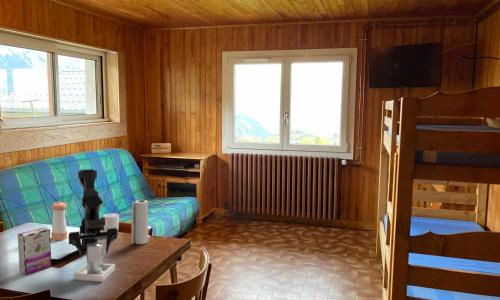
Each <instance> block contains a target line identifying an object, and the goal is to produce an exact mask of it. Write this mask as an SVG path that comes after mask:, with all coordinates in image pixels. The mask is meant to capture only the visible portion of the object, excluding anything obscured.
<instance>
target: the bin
mask: <svg viewBox="0 0 500 300" xmlns="http://www.w3.org/2000/svg"><path fill="white" fill-rule="evenodd" d="M115 270H116V264H114V263H103V274H102V275H96V274H87V263H85V265H83V266H81V268H79V269H78V270H76V272H74V273H73V281H80V282H81V281H83V282H98V283H103V282H104V281H105V280H106V279H108V277H109V276H110V275H112V273H113V272H114V271H115Z"/></svg>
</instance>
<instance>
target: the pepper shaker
mask: <svg viewBox="0 0 500 300" xmlns="http://www.w3.org/2000/svg"><path fill="white" fill-rule="evenodd" d="M50 209H51V210H52V223H51V231H50V240H51V241H63V240H66V239H68V230H67V221H66V209H67V204H66V203H65V202H61V201H56V202H54V203H52V205H51V206H50Z"/></svg>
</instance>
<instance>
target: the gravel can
mask: <svg viewBox="0 0 500 300" xmlns="http://www.w3.org/2000/svg"><path fill="white" fill-rule="evenodd" d="M103 250H104V247H103V243H102V242H99V241H98V242H94V243H89V244H87V251H86V264H87V274H96V275H102V274H103V264H104V262H103V261H104V259H103V258H104V253H103Z"/></svg>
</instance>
